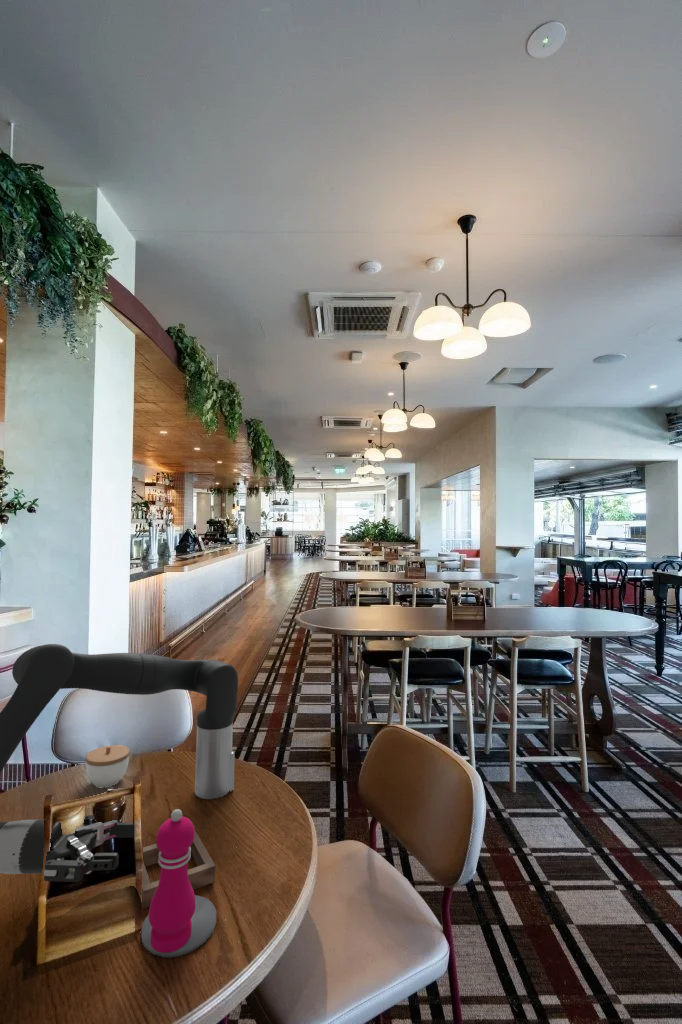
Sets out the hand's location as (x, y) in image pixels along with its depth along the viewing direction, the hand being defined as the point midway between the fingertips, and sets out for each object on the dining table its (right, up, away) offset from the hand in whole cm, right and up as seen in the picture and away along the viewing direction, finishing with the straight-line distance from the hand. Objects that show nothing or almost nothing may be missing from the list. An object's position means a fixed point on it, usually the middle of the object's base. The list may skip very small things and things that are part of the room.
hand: (128, 844), depth 82 cm
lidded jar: (-27, -17, +48) cm, 57 cm away
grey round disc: (+9, -14, 0) cm, 16 cm away
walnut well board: (+3, -14, +13) cm, 19 cm away
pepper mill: (+9, -13, -4) cm, 16 cm away
